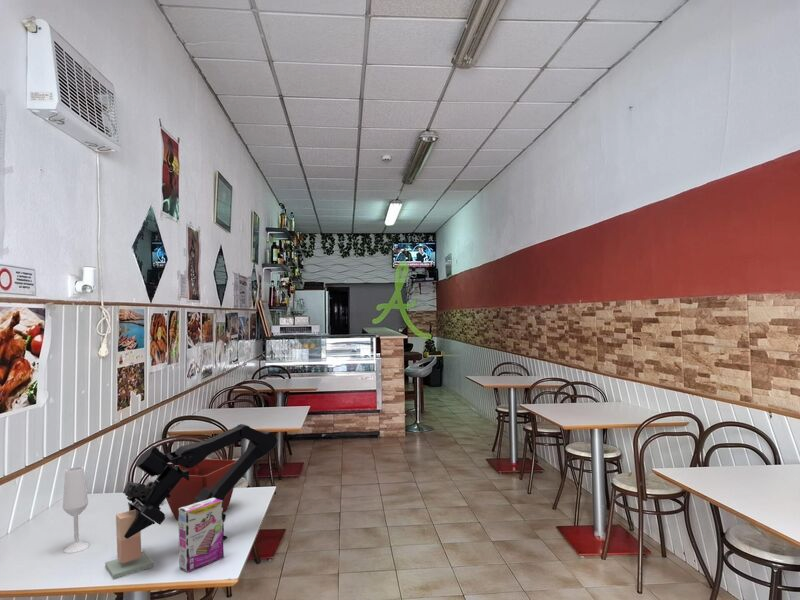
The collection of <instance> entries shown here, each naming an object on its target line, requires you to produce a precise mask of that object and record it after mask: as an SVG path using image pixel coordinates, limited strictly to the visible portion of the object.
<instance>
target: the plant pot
mask: <svg viewBox="0 0 800 600" xmlns="http://www.w3.org/2000/svg"><path fill="white" fill-rule="evenodd" d="M237 460H238V459H218V458H217V459H214V458H205V459H204V460H203V461H201V462H200V463H198V464H197V465H196V466H194V467H192V468H185V467H182V466H181V465H177V466H178V467H179V468H181V469H182V470H188V471H189V478H190V479H189V481H187V480H186V479H184V478H183V477H182V478H181V480H180V481H179V482H178V484H177V485H176V486H175V487H174V489H173V490H171V492H170V495H171V496H170V497H169V498H167V497H166V499H165V500H166V501H167V504H168V506H169V508H170V511H171V514H172V515H173V517H174V519H175V520H176V521H179V516H178V508H181V507H184V506H188V505H191V504H193V502H194V500H195V498H194V497H196V496H197V495H199V493H200V492H201V491H202V489H203V488H206V489H208V490H209V489H211V488H212V487H214V486H215V485H216V484H217V483H218V481H219V480H220V479H221V478H222V477H223V476H224V475H225V474H226V473H227V471H228V470H229V469H230V468H231V467H232V466H233V465H234V464H235V462H236V461H237ZM234 489H235V486H234V487H233V488H232V489H231V490H230V492H229V493H228V494H227V495H226V496H225V499H224V501H223V513H224V512H225V511H227V510H228V509H229V505H230V503H231V500H232V499H231V498H232V495H233V492H234Z"/></svg>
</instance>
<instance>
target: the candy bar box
mask: <svg viewBox="0 0 800 600" xmlns="http://www.w3.org/2000/svg"><path fill="white" fill-rule="evenodd" d="M223 513H224V512H223V501H222V500H220V499H217V498H210V499H207V500H204V501H201V502H197V503H194V504H191V505H188V506H184V507H181V508H178V516H179V520H178V562H179V563H178V564H179V566H178V567H179V569H181V570H182V571H185V572H187V573H189V572H192V571H194V570H196V569H199V568H201V567H204V566H206V565H209V564H211V563H214V562H215V561H218V560H220V558H221V559H223V558H224V540H223V523H224V522H223Z"/></svg>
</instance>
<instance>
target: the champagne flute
mask: <svg viewBox="0 0 800 600" xmlns="http://www.w3.org/2000/svg"><path fill="white" fill-rule="evenodd" d="M64 472H65V473H64V486H63V499H62V509H63V511H64V512H65V513H66V514H67V515H70V516H71V517H73V540H74V541H73V542H72V543H71V544H69V546H67V547H66V548H65V549H64V550H63V552H64V553H66V554H67V553H68V554H71V553H78V552H81V551H84V550H86V549H88V548H89V546H90V543H86V542H83V541H81V540H79V539H80V538H79V536H80V533H79V516H80V515H81V514H82V513H83V512H84V510H86V509H87V506H88V505H89V498H88V491H87V482H86V475H85V470H84V466H73V467H69V468H67V469H65V471H64ZM77 551H78V552H77Z"/></svg>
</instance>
